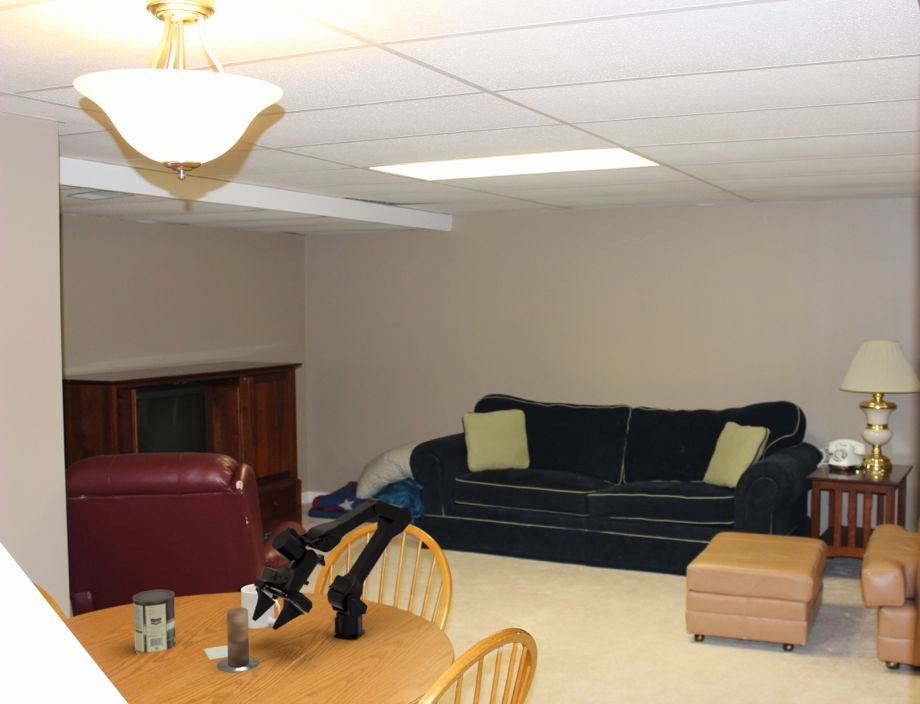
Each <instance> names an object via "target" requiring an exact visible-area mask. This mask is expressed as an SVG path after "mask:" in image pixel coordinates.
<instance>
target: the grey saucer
mask: <svg viewBox="0 0 920 704" xmlns="http://www.w3.org/2000/svg"><path fill="white" fill-rule="evenodd" d="M259 665H260V660H259V659H258V658H257V657H254V656H249V664H248V665H246V666H244V667H230V666H228V657H226V658H224V659H222V660H220V661H219V662H217V664H216V668H217V669H218V670H219V671H221V672H224V673H233V674H234V673H244V672H248V671H251V670H253V669H256V668H257V667H258V666H259Z"/></svg>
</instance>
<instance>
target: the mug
mask: <svg viewBox="0 0 920 704" xmlns="http://www.w3.org/2000/svg"><path fill="white" fill-rule="evenodd" d="M254 584H255V583H253V584H247V585H245V586H243V587H241V589H240V597H241V599H240V600H241V603H240V604H241V608H246V609H248V629H250V630H251V629H253V630H254V629H255V630H256V629H263V628H264V629H265V628H272V627H273V625H274V623H275V621H276V619H277V617H278V616H279V614H280V612H281V605H280V603H279V601H278V600H277V599H276V600H274V599H273V600H274V601H275V602H276V603H275V604H274V605H275V606H276V608H277V610H278V616H277V617H276V618H275V606H274V605H273V606H271V607H270V608H269V609H268V610H267V611H266V612H265V613H264V614H263V615H262V616H261V617H260V618H259V619H258V620H256V621H254V620H253V619H252V617H253V614H254V611H255V607H256V604H257V600H258V594H257V591H256V590H255V589H256V587H255V586H254Z"/></svg>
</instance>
